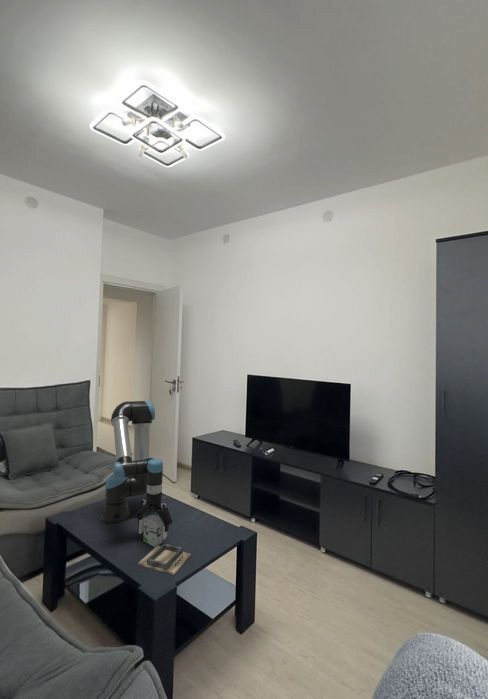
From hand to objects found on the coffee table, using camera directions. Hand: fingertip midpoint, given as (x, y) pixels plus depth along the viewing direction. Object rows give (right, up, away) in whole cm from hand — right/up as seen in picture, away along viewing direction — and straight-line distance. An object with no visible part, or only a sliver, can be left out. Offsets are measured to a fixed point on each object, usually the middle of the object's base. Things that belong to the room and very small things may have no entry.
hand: (152, 535), depth 171 cm
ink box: (0, -4, 0) cm, 4 cm away
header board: (+9, -4, -14) cm, 17 cm away
